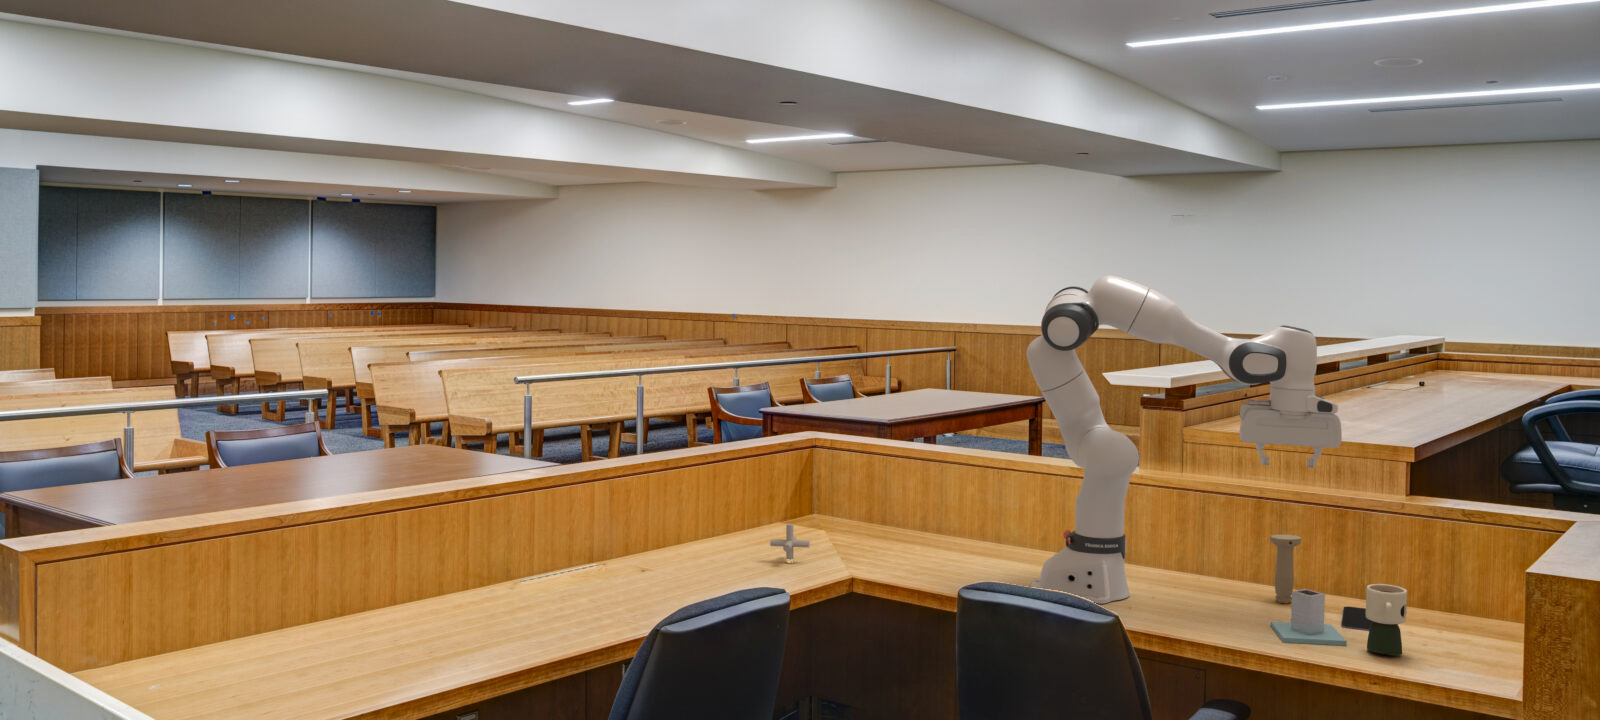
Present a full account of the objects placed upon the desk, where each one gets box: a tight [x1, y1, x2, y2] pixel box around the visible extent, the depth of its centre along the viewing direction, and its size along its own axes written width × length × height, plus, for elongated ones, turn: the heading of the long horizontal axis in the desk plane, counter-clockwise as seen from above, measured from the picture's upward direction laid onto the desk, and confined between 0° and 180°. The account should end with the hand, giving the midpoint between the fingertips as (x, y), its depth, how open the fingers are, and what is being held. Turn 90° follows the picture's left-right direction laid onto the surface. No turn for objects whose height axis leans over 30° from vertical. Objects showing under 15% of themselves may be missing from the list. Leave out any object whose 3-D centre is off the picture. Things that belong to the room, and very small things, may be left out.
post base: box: [1270, 621, 1347, 647], centre depth 236 cm, size 12×11×7 cm
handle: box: [1270, 534, 1302, 604], centre depth 260 cm, size 5×6×15 cm
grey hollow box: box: [1290, 588, 1326, 635], centre depth 236 cm, size 4×5×8 cm
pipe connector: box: [769, 523, 810, 560], centre depth 295 cm, size 10×10×10 cm
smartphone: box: [1340, 605, 1374, 632], centre depth 247 cm, size 7×1×15 cm
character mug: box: [1365, 583, 1408, 656], centre depth 225 cm, size 11×7×13 cm, turn 159°
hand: (1287, 465), depth 247 cm, fingers open, 8 cm apart
